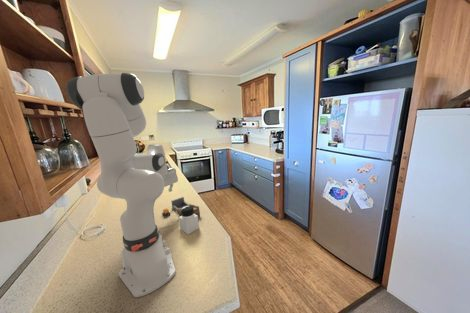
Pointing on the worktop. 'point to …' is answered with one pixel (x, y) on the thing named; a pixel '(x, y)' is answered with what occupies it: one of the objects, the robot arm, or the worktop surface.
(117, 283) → the worktop surface
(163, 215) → the square nut
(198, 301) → the worktop surface
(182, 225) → the medicine bottle
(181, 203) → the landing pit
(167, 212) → the ball
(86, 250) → the worktop surface
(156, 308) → the worktop surface
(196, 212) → the launch ramp
